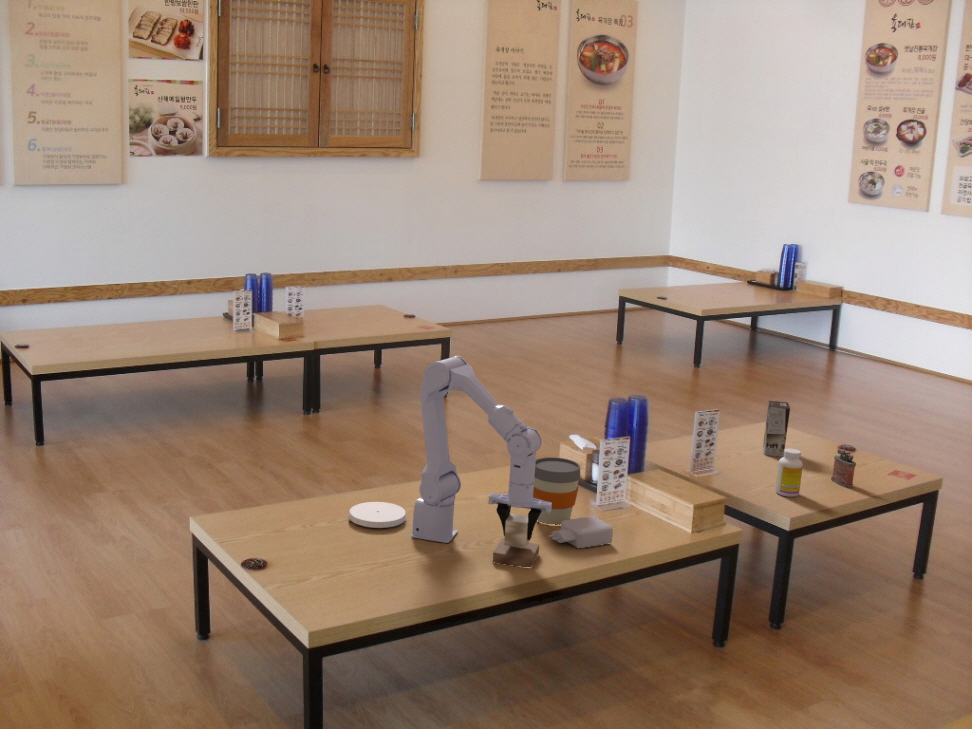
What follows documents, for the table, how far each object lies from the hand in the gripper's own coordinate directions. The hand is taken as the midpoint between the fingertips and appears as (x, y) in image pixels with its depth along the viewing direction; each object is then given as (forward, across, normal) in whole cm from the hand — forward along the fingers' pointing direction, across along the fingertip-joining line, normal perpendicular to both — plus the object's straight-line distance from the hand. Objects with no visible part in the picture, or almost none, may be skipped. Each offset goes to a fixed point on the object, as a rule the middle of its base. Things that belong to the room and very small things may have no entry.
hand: (517, 536), depth 252 cm
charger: (+6, +11, +16) cm, 20 cm away
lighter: (+6, +78, +94) cm, 122 cm away
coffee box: (+6, +58, +118) cm, 132 cm away
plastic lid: (+6, -38, +10) cm, 40 cm away
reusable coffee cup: (+6, +3, +28) cm, 29 cm away
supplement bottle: (+6, +62, +77) cm, 99 cm away
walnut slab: (+6, 0, 0) cm, 6 cm away
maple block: (+2, 0, 0) cm, 2 cm away
